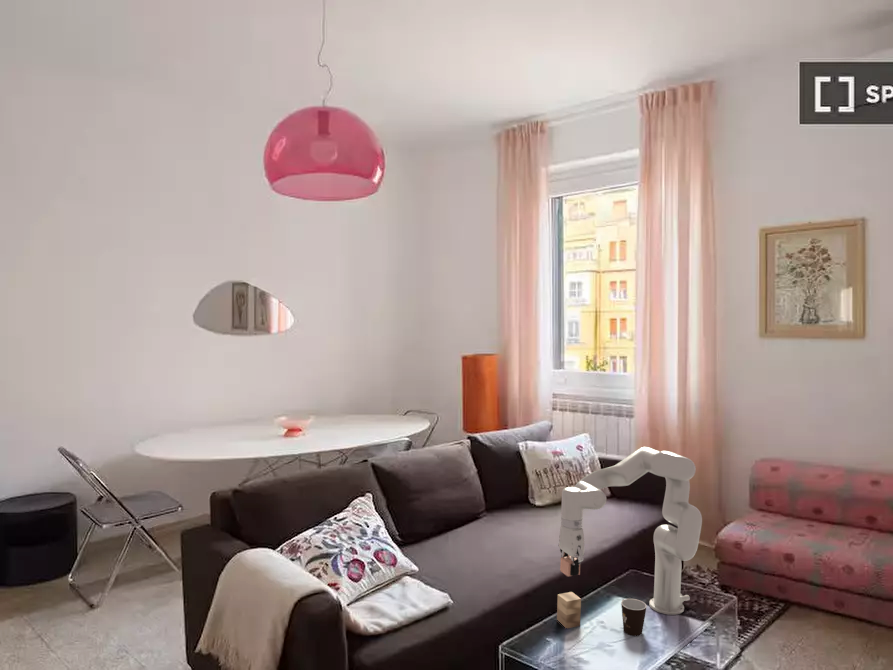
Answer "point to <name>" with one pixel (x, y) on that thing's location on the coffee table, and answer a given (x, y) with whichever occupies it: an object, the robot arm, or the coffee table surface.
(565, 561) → the terracotta block
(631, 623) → the coffee mug
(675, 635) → the coffee table surface
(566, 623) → the tower base
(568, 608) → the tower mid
